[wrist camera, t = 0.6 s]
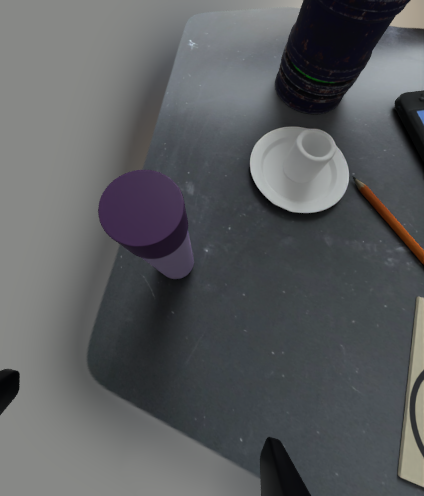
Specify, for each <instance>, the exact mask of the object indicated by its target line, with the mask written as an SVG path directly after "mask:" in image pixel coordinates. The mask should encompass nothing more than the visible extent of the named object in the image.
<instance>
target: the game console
mask: <svg viewBox="0 0 424 496" xmlns="http://www.w3.org/2000/svg"><path fill="white" fill-rule="evenodd" d="M395 108H396V110H397V112H398V114H399V116H400V118H401V120H402V122H403V124H404V126H405V128H406V130H407V132H408V133H409V135H410V137H411V139H412V141H413V143H414V145H415V147H416V149H417V151H418V153H419V154H420V156H421V158H422V160H423V162H424V91H416V92H407V93H403V94H401V95H400V97H398V98H397V99H396V101H395Z"/></svg>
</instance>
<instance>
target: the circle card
mask: <svg viewBox="0 0 424 496" xmlns="http://www.w3.org/2000/svg"><path fill="white" fill-rule="evenodd" d="M398 476H400V477H401V478H403V479H405V480H408V481H410V482H412V483H415V484H417V485H419V486H422V487H424V298H421V297H417V299H416V309H415V318H414V327H413V336H412V346H411V355H410V364H409V374H408V383H407V392H406V401H405V411H404V420H403V429H402V439H401V448H400V457H399V466H398Z"/></svg>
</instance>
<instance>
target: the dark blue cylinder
mask: <svg viewBox="0 0 424 496" xmlns="http://www.w3.org/2000/svg"><path fill="white" fill-rule="evenodd" d="M409 1H410V0H303V3H302V6H301V9H300V12H299V15H298V18H297V21H296V23H295V24H294V25H293V27H292V29H291V32H290V35H289V38H288V42H287V44H286V46H285V49H284V52H283V55H282V59H281V64H280V68H279V71H278V74H277V77H276V80H275V87H276V91H277V93H278V95H279V97H280V98H281V99H282V101H283V102H284V103H286V104H287V105H288V106H290V107H291V108H293V109H295V110H297V111H300V112H303V113H307V114H322V113H326V112H329V111H331V110H333V109H334V108H335V107H336V106H337V105H338V104H339V103H340V101H341V100H342V98H343V96H344V94H345V93H346V92H347V91H348V89H349V88H350V87H351V86H352V85H353V84H354V82H355V81H356V79H357V78H358V76H359V75H360V73H361V71H362V70H363V69H364V68H365V66H366V64H367V62H368V61H369V59H370V57H371V54H372V50H373V49H374V47H375V46H376V44H377V43H378V41H379V40H380V38H381V37H382V35H383V34H384V32H385V31H386V29H387V28H388V26H389V25H390V23H391V22H392V20H393V19H394V17H395V16H396V15H397V14H399V13H400V12H401V11H402V10H403V9H404V7H405V6H406V4H407V3H408V2H409Z"/></svg>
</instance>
